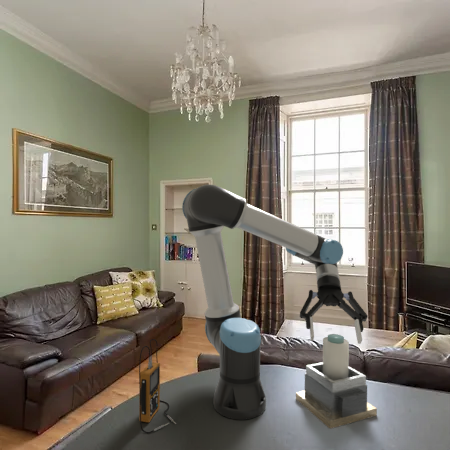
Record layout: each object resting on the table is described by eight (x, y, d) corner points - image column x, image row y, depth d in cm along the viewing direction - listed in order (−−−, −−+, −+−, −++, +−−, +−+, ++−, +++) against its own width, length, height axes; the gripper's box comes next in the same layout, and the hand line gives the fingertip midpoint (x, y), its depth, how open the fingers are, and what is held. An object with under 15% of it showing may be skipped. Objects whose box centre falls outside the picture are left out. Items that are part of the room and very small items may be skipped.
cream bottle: (317, 375, 94) (317, 334, 94) (336, 371, 97) (336, 331, 97) (334, 387, 88) (334, 342, 88) (353, 382, 90) (354, 339, 90)
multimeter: (169, 437, 78) (170, 355, 78) (132, 431, 80) (132, 351, 80) (188, 404, 93) (189, 335, 93) (156, 400, 95) (156, 332, 95)
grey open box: (295, 399, 96) (296, 364, 96) (338, 389, 102) (338, 356, 102) (329, 428, 82) (330, 387, 82) (376, 415, 88) (377, 377, 88)
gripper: (364, 288, 111) (377, 348, 96) (290, 285, 115) (292, 343, 100) (368, 275, 105) (383, 337, 91) (291, 272, 109) (293, 331, 95)
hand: (336, 340), depth 95 cm, fingers open, 13 cm apart
